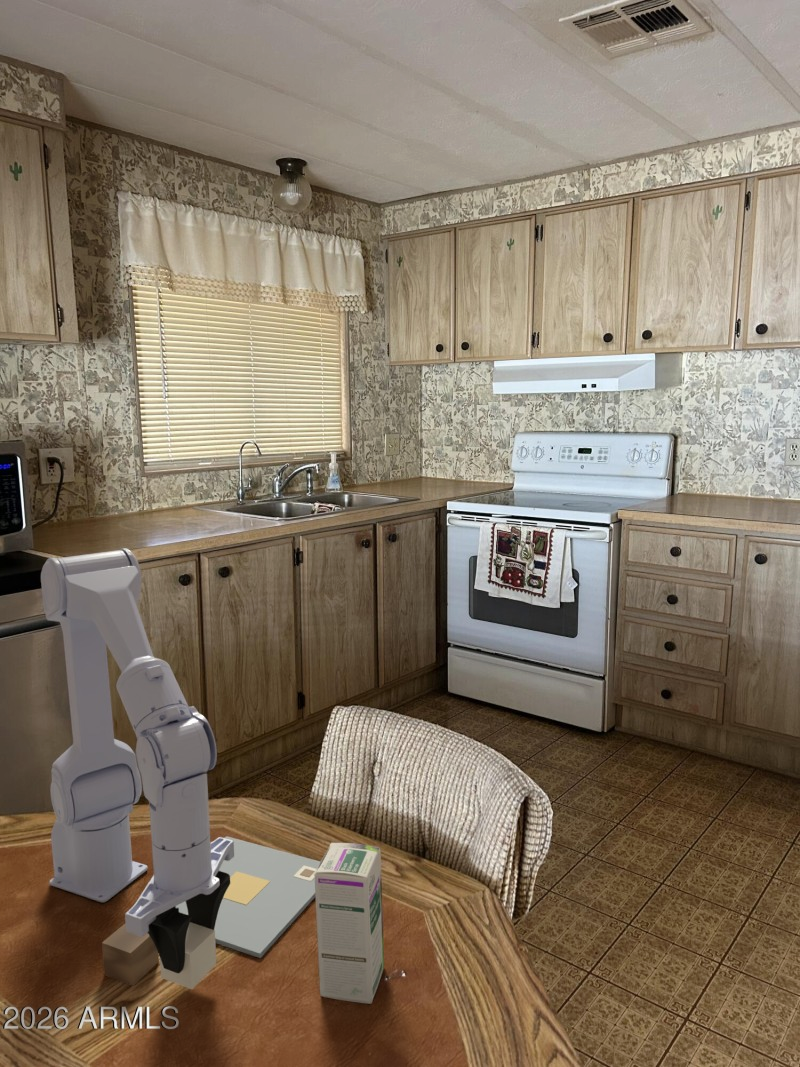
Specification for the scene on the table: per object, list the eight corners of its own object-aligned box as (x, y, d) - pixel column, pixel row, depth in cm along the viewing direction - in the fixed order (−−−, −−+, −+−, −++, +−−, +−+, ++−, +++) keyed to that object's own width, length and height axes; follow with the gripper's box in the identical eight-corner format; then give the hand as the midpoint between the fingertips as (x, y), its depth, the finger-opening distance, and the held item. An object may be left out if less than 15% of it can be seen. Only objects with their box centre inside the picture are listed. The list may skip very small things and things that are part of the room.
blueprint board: (135, 915, 96) (134, 910, 96) (226, 840, 112) (226, 835, 112) (260, 958, 88) (260, 952, 88) (338, 870, 105) (338, 865, 104)
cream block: (161, 977, 83) (158, 943, 82) (186, 953, 86) (184, 920, 85) (192, 989, 81) (189, 954, 80) (216, 964, 84) (214, 930, 84)
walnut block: (104, 975, 86) (101, 942, 85) (131, 952, 90) (128, 920, 89) (133, 986, 85) (130, 953, 84) (158, 962, 88) (156, 930, 87)
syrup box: (372, 1006, 81) (370, 877, 79) (317, 997, 83) (313, 870, 80) (384, 967, 87) (383, 845, 84) (332, 959, 88) (329, 839, 86)
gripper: (163, 884, 73) (171, 1015, 75) (255, 809, 86) (259, 922, 88) (104, 866, 75) (114, 992, 78) (202, 796, 88) (208, 906, 91)
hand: (188, 954), depth 83 cm, fingers closed on cream block, 4 cm apart
